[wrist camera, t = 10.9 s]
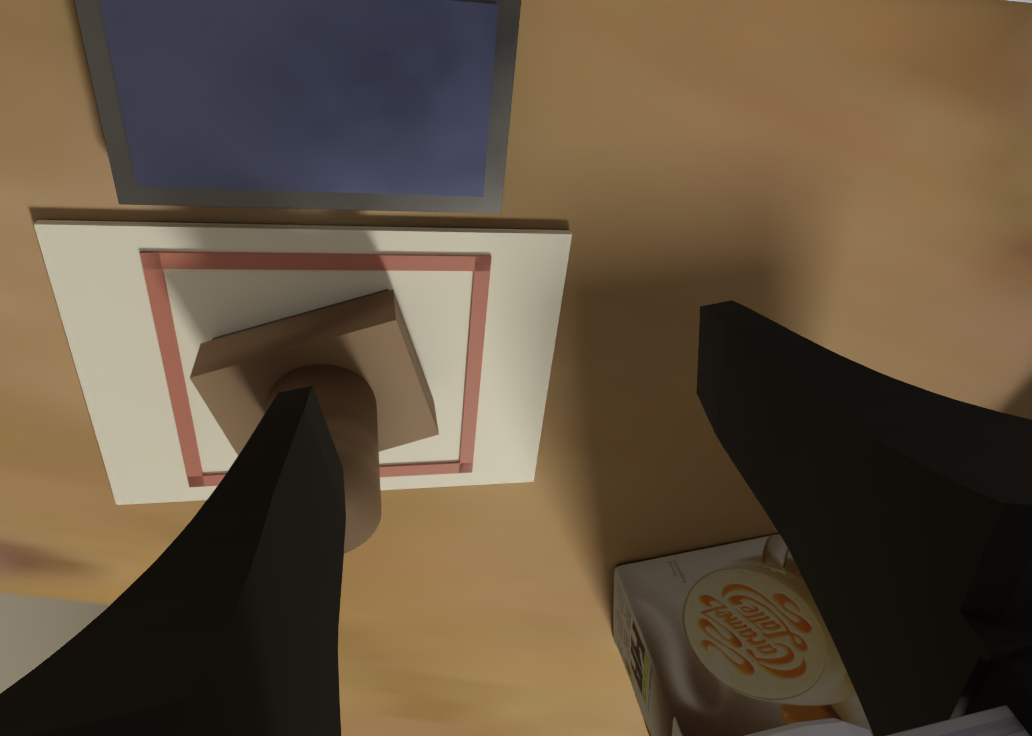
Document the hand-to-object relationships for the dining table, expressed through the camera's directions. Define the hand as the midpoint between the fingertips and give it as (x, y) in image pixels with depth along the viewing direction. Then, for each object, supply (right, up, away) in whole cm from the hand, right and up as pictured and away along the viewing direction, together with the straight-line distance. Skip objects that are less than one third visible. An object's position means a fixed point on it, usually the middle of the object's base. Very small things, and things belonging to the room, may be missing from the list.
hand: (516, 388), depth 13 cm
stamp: (-6, 0, +10) cm, 12 cm away
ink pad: (-5, +8, +6) cm, 11 cm away
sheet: (-6, 0, +11) cm, 12 cm away
